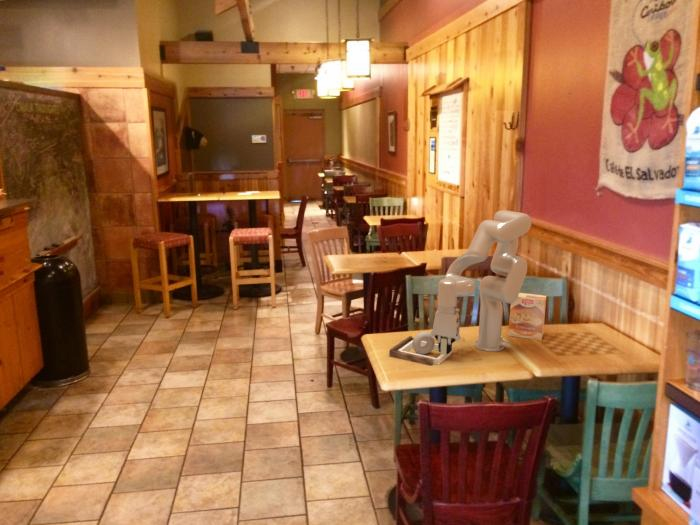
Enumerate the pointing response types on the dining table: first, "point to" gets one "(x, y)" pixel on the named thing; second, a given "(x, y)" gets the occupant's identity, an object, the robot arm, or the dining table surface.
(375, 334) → the dining table surface
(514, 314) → the coffeecake box
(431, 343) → the grey wheel
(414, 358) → the brown piece
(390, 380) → the dining table surface
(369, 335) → the dining table surface
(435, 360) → the white open rectangular frame
